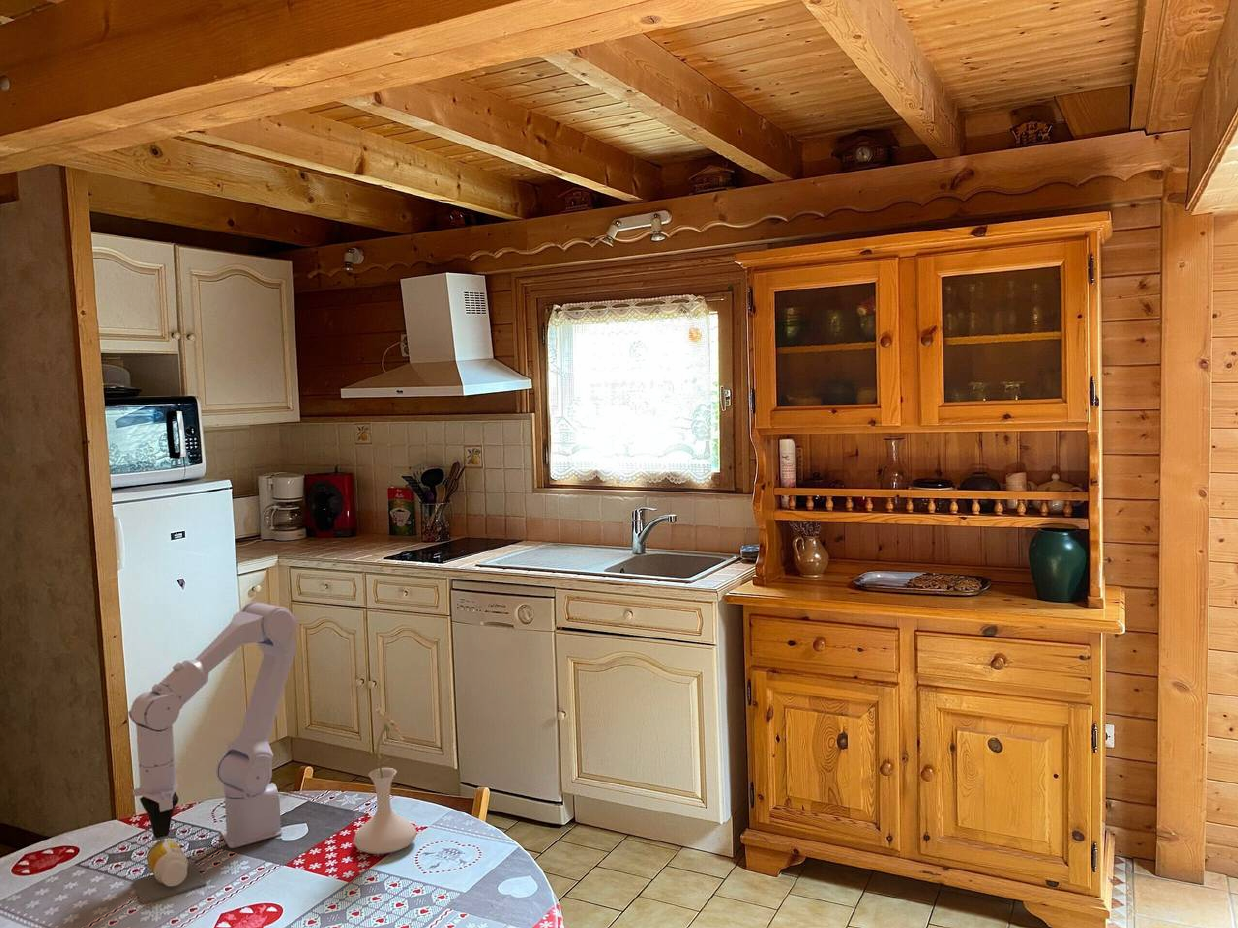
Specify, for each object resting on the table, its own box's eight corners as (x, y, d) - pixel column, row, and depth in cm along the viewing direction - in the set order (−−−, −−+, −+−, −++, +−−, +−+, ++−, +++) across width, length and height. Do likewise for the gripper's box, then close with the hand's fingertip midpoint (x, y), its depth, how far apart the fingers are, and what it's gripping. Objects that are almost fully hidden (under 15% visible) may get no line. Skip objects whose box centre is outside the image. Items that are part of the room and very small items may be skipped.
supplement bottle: (178, 834, 172) (191, 854, 164) (179, 863, 172) (192, 885, 165) (145, 842, 169) (157, 863, 161) (146, 871, 169) (157, 894, 162)
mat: (195, 864, 173) (194, 862, 172) (206, 885, 165) (206, 883, 165) (133, 881, 167) (133, 879, 167) (142, 904, 159) (141, 901, 159)
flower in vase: (418, 855, 174) (413, 720, 172) (352, 864, 172) (346, 727, 170) (415, 823, 187) (410, 697, 185) (354, 831, 184) (348, 703, 182)
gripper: (125, 753, 173) (129, 827, 174) (138, 780, 161) (143, 858, 162) (167, 744, 177) (172, 816, 178) (184, 769, 165) (188, 846, 166)
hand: (161, 835), depth 170 cm, fingers closed
